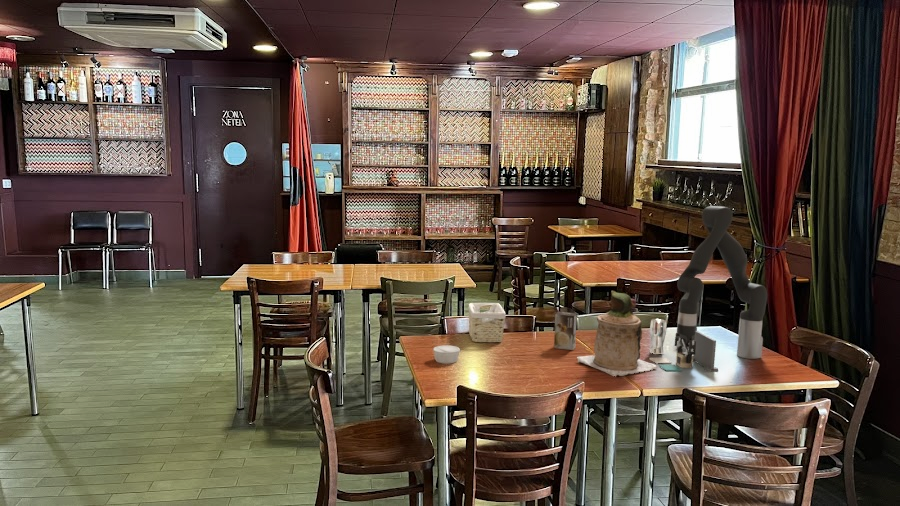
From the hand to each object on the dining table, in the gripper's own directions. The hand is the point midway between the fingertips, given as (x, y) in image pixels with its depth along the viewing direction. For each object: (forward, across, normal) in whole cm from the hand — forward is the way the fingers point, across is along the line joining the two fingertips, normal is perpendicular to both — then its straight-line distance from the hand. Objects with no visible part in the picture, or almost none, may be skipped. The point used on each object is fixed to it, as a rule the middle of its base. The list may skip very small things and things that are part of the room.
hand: (683, 360), depth 287 cm
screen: (+2, 0, -9) cm, 9 cm away
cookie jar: (+3, +1, +29) cm, 30 cm away
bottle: (+2, +37, -19) cm, 42 cm away
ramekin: (+4, +11, +101) cm, 101 cm away
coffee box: (+3, +29, +44) cm, 53 cm away
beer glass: (+3, +19, +4) cm, 20 cm away
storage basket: (+4, +49, +77) cm, 92 cm away
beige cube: (+3, 0, 0) cm, 3 cm away
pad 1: (+2, +6, +8) cm, 10 cm away
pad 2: (+2, -4, +8) cm, 9 cm away
